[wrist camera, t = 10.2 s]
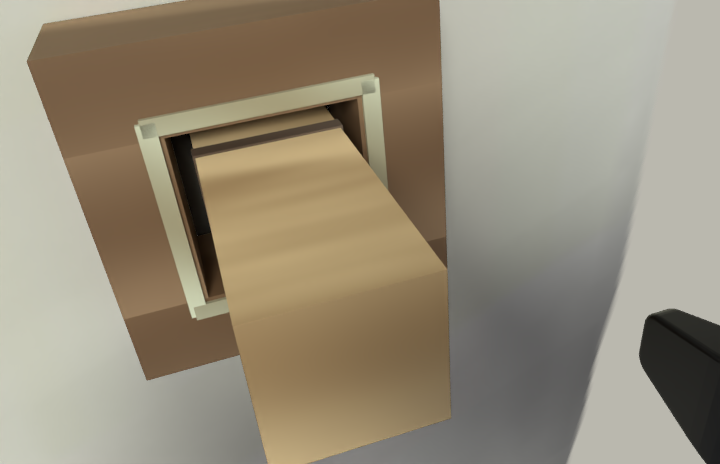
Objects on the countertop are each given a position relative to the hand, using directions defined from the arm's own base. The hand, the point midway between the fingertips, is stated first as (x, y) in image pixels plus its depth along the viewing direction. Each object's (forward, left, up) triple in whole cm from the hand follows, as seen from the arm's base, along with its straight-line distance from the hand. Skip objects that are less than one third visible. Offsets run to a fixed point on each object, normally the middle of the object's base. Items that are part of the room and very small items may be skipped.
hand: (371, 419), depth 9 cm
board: (0, 0, -10) cm, 10 cm away
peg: (0, 0, -10) cm, 10 cm away
